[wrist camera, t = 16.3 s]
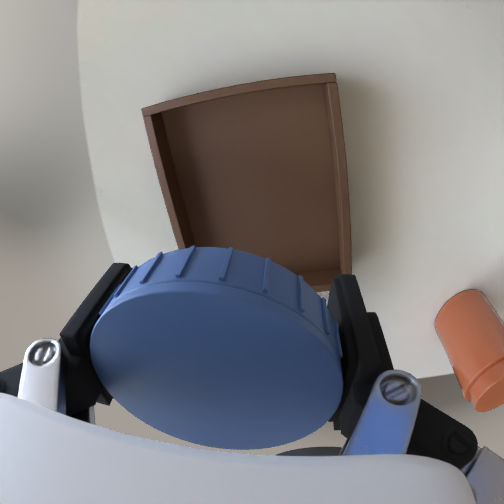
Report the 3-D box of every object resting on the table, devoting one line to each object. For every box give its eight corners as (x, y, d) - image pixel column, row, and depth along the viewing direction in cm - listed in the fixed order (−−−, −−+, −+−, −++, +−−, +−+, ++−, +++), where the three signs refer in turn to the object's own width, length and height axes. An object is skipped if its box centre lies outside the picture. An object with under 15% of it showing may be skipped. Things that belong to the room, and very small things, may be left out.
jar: (478, 331, 28) (514, 402, 18) (429, 343, 29) (460, 423, 20) (492, 284, 25) (542, 356, 15) (440, 294, 26) (485, 378, 17)
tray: (346, 268, 25) (351, 288, 23) (203, 283, 27) (195, 302, 25) (328, 75, 18) (335, 72, 16) (156, 105, 20) (140, 108, 18)
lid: (90, 238, 8) (52, 275, 6) (359, 250, 7) (377, 297, 6) (142, 395, 11) (127, 431, 10) (319, 412, 11) (320, 454, 9)
